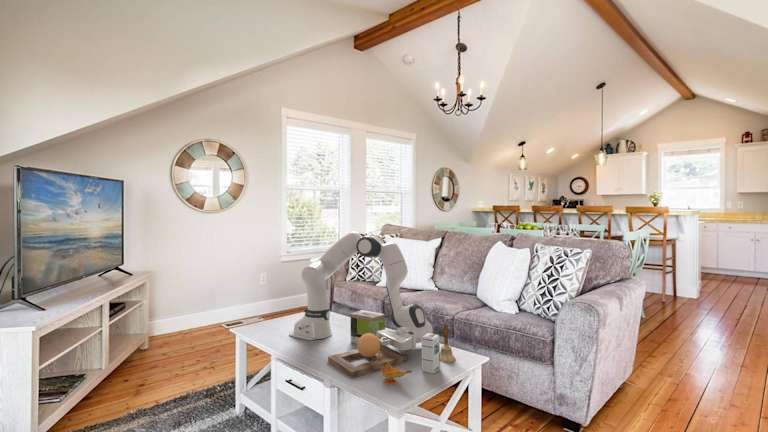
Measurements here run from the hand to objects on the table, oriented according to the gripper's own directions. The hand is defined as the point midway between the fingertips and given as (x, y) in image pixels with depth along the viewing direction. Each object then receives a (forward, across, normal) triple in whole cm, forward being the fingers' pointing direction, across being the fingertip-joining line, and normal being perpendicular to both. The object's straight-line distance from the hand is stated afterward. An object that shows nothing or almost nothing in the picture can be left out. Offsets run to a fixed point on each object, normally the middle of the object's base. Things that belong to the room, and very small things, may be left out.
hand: (379, 342), depth 176 cm
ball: (+6, 0, 0) cm, 6 cm away
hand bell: (-24, +18, +8) cm, 31 cm away
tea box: (-8, -21, +8) cm, 24 cm away
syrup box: (-10, +22, +8) cm, 25 cm away
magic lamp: (+10, +22, +8) cm, 25 cm away
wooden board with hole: (+6, -1, +7) cm, 10 cm away
